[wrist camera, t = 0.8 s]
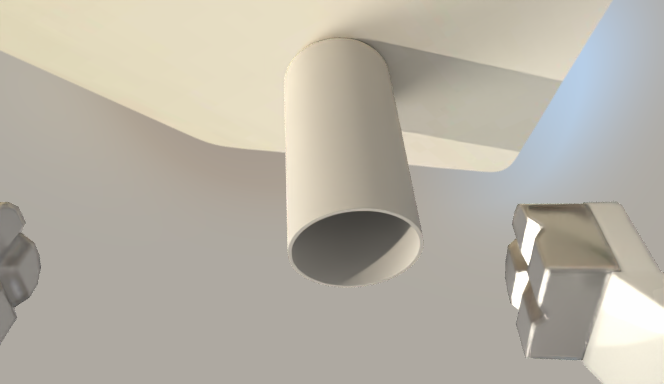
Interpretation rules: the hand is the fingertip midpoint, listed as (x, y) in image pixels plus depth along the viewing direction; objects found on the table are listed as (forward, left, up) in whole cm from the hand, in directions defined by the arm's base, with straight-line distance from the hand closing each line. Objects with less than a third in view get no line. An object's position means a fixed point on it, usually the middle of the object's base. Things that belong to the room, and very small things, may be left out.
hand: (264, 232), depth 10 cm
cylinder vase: (+29, +24, -51) cm, 63 cm away
